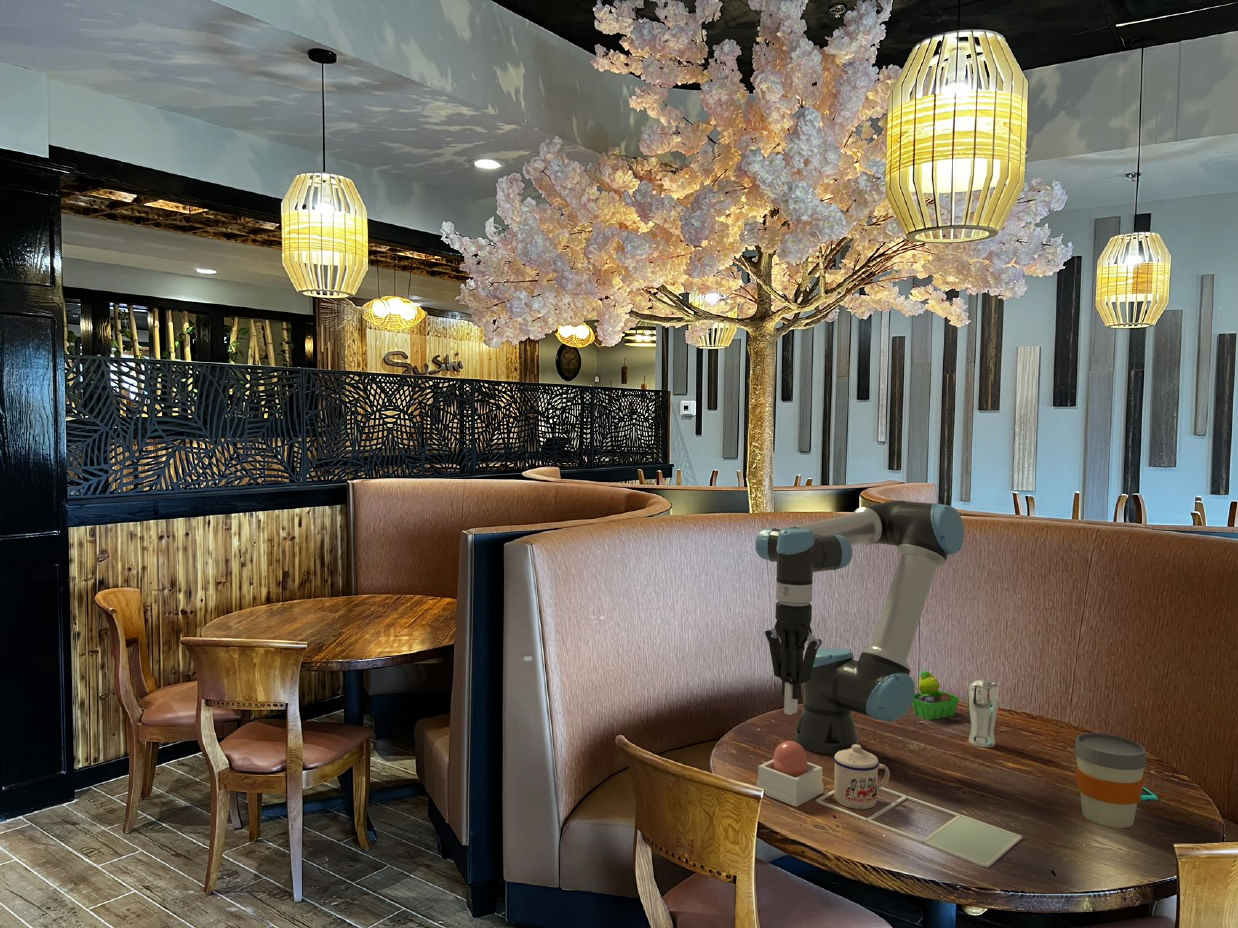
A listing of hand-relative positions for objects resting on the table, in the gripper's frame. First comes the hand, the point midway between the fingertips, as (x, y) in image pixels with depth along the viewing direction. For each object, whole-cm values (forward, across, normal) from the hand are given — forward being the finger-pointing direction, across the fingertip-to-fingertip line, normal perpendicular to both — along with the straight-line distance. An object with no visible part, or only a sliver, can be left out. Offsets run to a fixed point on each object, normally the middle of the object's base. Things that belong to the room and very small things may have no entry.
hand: (790, 712), depth 177 cm
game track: (+17, +24, +8) cm, 31 cm away
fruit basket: (+17, -2, +70) cm, 72 cm away
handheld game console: (+18, +46, +57) cm, 76 cm away
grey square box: (+17, 0, 0) cm, 17 cm away
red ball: (+13, 0, 0) cm, 13 cm away
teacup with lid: (+17, +12, +8) cm, 23 cm away
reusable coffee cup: (+17, +50, +38) cm, 65 cm away
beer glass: (+17, +16, +59) cm, 64 cm away
